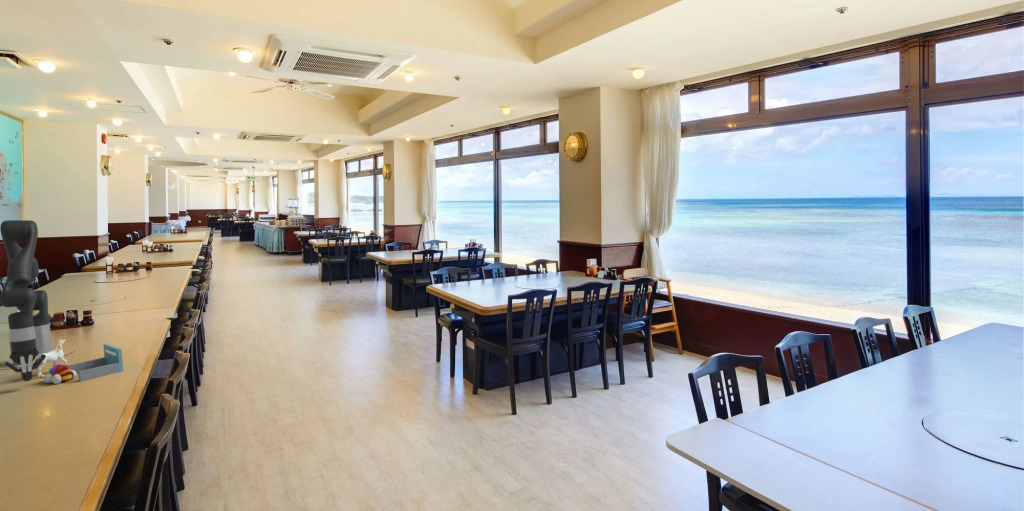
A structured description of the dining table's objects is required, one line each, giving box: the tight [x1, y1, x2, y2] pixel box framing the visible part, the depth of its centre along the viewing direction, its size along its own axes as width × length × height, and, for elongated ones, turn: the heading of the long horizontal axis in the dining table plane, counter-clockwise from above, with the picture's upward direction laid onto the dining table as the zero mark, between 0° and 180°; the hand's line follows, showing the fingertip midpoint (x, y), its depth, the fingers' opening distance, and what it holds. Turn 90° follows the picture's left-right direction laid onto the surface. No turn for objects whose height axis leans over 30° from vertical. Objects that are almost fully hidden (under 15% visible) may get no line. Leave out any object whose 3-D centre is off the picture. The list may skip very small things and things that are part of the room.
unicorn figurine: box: [32, 336, 68, 378], centre depth 224 cm, size 7×20×13 cm, turn 4°
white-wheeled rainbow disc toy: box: [43, 363, 78, 385], centre depth 215 cm, size 8×10×7 cm
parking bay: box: [66, 343, 124, 382], centre depth 224 cm, size 15×15×10 cm
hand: (27, 380), depth 206 cm, fingers closed
